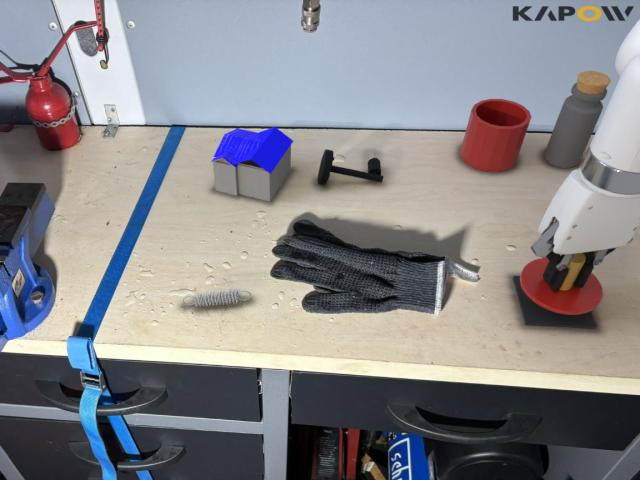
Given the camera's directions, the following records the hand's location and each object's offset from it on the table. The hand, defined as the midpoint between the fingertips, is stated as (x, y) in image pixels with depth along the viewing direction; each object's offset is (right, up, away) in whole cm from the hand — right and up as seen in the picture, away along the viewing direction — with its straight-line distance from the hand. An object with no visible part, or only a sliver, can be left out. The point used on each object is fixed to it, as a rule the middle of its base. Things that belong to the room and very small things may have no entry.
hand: (562, 281), depth 81 cm
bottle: (+13, +22, +25) cm, 36 cm away
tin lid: (0, -1, +1) cm, 1 cm away
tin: (+1, +23, +27) cm, 35 cm away
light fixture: (-24, +20, +26) cm, 40 cm away
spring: (-46, -3, +6) cm, 47 cm away
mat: (0, -3, +3) cm, 4 cm away
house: (-41, +19, +25) cm, 51 cm away
